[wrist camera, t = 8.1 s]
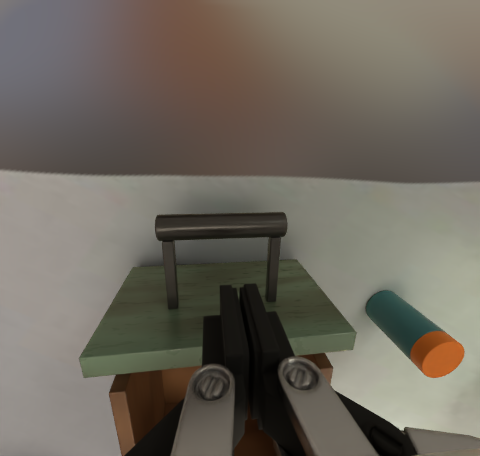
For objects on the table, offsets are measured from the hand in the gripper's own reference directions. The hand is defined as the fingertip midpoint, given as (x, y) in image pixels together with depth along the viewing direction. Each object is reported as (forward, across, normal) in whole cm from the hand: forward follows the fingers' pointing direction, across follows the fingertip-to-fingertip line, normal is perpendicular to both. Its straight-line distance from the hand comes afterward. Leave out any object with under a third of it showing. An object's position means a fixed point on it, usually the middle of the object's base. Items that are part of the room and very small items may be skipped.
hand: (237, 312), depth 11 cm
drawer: (+9, 0, +6) cm, 11 cm away
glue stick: (+10, -16, +8) cm, 21 cm away
